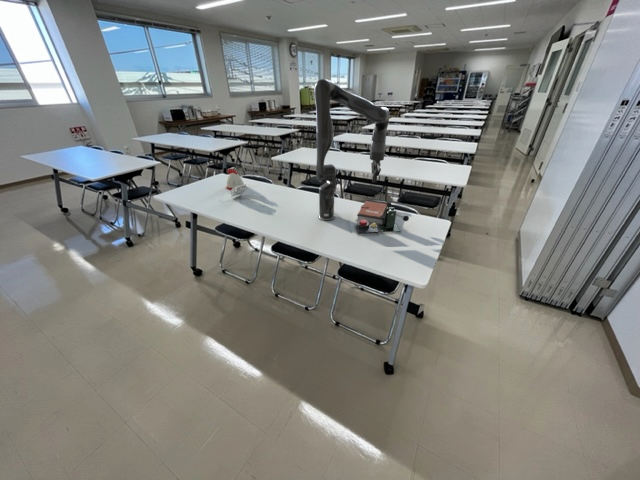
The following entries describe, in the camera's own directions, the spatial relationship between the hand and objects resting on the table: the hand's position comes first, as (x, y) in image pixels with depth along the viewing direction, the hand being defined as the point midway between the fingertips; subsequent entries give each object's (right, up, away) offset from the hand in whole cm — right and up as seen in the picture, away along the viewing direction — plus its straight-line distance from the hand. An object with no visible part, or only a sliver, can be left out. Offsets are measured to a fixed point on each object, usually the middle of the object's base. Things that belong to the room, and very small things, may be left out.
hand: (374, 182), depth 147 cm
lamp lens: (0, -25, +2) cm, 25 cm away
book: (+5, -16, +25) cm, 30 cm away
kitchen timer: (-100, +12, +72) cm, 124 cm away
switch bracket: (+10, -26, +7) cm, 29 cm away
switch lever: (+14, -19, +4) cm, 24 cm away
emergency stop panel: (-3, -27, +6) cm, 28 cm away
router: (-103, -4, +45) cm, 113 cm away
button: (-5, -23, +6) cm, 24 cm away
